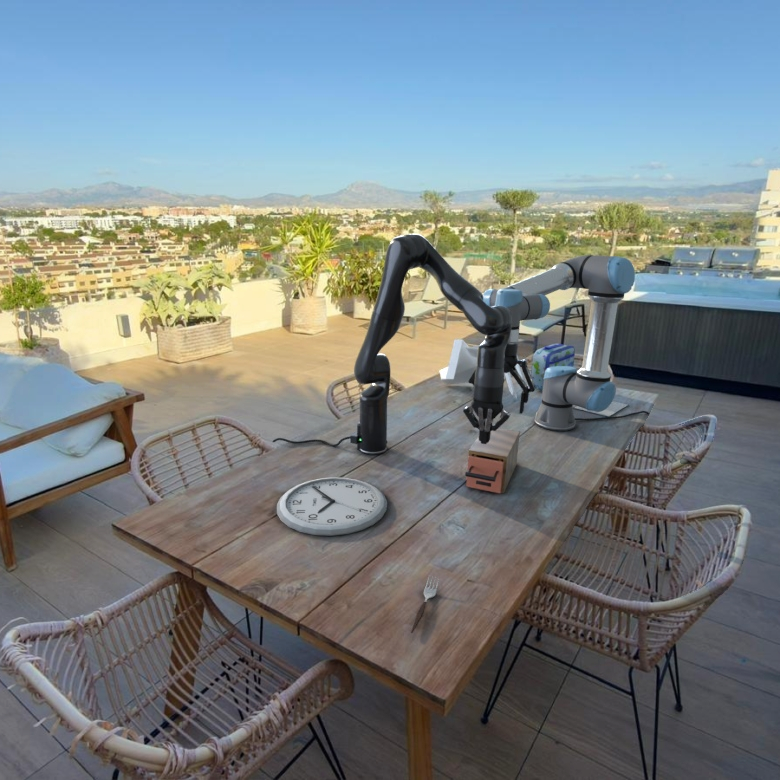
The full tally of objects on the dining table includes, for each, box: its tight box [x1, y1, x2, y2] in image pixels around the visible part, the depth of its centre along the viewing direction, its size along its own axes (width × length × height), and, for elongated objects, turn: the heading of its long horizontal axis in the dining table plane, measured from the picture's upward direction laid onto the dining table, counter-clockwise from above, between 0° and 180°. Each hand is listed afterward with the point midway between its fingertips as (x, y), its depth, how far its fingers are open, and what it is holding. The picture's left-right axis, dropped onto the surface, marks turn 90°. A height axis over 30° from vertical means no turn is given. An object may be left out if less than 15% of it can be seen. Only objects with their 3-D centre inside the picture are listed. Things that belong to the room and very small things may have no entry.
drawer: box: [464, 454, 504, 494], centre depth 155 cm, size 26×10×9 cm, turn 157°
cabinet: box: [468, 427, 521, 494], centre depth 161 cm, size 21×11×11 cm, turn 157°
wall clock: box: [276, 476, 388, 537], centre depth 142 cm, size 30×2×30 cm
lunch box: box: [530, 343, 576, 391], centre depth 249 cm, size 26×11×21 cm, turn 134°
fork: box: [410, 574, 440, 634], centre depth 104 cm, size 3×16×2 cm, turn 160°
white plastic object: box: [438, 338, 531, 400], centre depth 245 cm, size 37×45×31 cm
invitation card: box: [573, 400, 629, 417], centre depth 226 cm, size 21×1×15 cm
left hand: (484, 442), depth 143 cm, fingers closed
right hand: (499, 408), depth 163 cm, fingers open, 13 cm apart
